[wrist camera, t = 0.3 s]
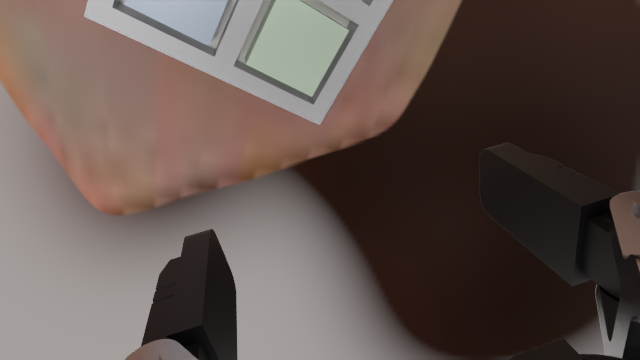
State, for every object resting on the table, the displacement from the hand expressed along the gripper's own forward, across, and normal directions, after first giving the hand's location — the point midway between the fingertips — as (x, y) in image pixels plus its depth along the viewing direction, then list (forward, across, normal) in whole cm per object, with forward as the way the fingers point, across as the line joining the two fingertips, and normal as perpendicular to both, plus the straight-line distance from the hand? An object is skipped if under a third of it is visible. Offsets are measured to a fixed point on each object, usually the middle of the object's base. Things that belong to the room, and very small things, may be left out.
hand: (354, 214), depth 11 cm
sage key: (+18, -2, -3) cm, 19 cm away
